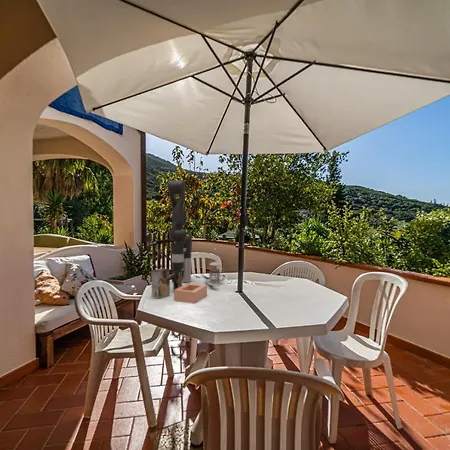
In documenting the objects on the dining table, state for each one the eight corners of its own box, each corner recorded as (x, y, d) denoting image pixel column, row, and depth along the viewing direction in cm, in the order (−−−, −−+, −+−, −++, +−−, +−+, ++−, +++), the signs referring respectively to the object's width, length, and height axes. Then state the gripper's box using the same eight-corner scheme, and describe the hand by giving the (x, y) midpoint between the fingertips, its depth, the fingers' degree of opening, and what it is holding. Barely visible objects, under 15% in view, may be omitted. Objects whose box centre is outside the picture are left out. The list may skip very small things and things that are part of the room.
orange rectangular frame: (187, 292, 198) (187, 283, 197) (206, 295, 194) (207, 285, 193) (173, 300, 181) (173, 290, 180) (194, 303, 177) (194, 292, 176)
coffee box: (162, 293, 195) (163, 267, 194) (170, 295, 191) (170, 269, 190) (151, 296, 188) (151, 270, 187) (158, 298, 184) (158, 271, 183)
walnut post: (176, 290, 204) (176, 274, 203) (181, 290, 202) (182, 275, 202) (173, 291, 200) (173, 275, 199) (178, 292, 199) (179, 276, 198)
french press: (205, 282, 226) (206, 247, 224) (220, 281, 231) (221, 247, 229) (210, 285, 217) (211, 249, 216) (226, 284, 222) (226, 248, 220)
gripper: (177, 258, 208) (177, 284, 209) (167, 262, 195) (166, 289, 196) (188, 259, 206) (187, 285, 207) (177, 263, 192) (177, 291, 193)
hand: (177, 287), depth 201 cm, fingers closed on walnut post, 4 cm apart
